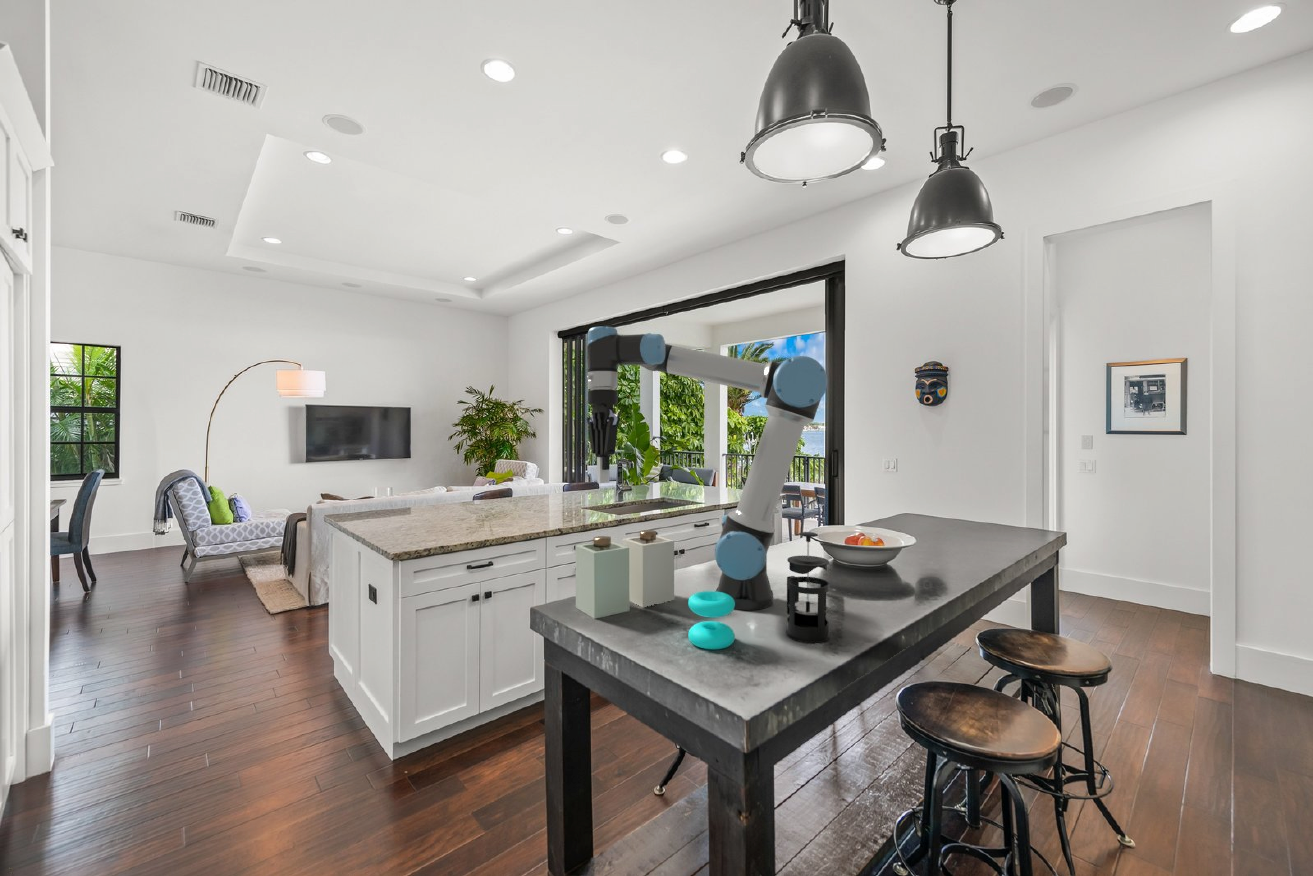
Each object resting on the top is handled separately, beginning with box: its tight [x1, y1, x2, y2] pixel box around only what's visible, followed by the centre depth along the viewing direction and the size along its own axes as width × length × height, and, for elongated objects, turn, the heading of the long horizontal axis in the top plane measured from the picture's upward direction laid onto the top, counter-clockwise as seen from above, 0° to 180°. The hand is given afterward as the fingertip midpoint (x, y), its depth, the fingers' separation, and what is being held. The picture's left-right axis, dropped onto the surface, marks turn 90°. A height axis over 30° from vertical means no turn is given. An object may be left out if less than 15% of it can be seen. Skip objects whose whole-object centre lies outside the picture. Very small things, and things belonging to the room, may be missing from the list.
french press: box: [785, 531, 831, 645], centre depth 123 cm, size 12×9×23 cm
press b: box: [574, 541, 631, 620], centre depth 140 cm, size 10×10×16 cm
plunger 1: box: [592, 535, 612, 551], centre depth 140 cm, size 7×7×13 cm
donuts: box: [687, 590, 736, 650], centre depth 119 cm, size 10×10×10 cm
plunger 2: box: [639, 529, 657, 544], centre depth 148 cm, size 7×7×13 cm
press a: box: [621, 535, 675, 608], centre depth 148 cm, size 10×10×16 cm
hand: (603, 482), depth 140 cm, fingers closed
